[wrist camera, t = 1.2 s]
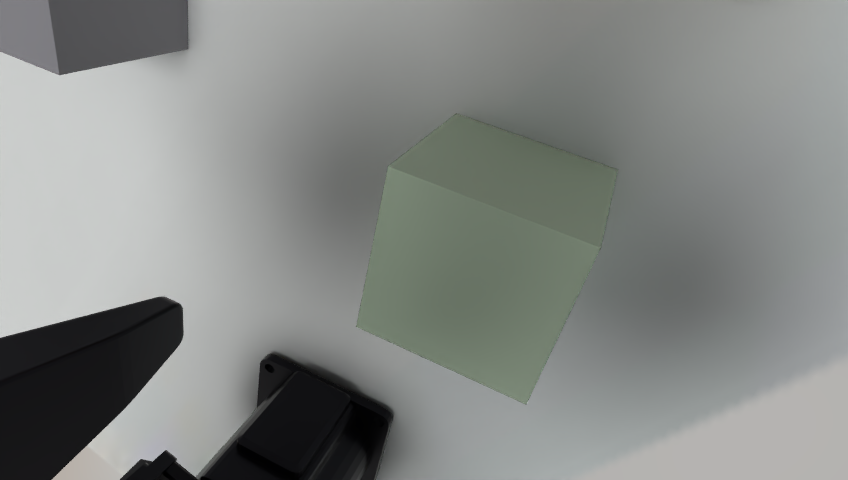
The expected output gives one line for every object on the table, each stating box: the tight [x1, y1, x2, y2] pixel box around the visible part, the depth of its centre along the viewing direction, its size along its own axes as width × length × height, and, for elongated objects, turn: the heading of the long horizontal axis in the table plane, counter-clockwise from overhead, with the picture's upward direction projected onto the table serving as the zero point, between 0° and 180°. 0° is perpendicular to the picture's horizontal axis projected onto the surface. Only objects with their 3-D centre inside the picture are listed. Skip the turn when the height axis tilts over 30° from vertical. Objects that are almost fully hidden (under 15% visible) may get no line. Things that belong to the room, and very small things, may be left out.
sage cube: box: [356, 114, 618, 404], centre depth 15 cm, size 5×5×5 cm
